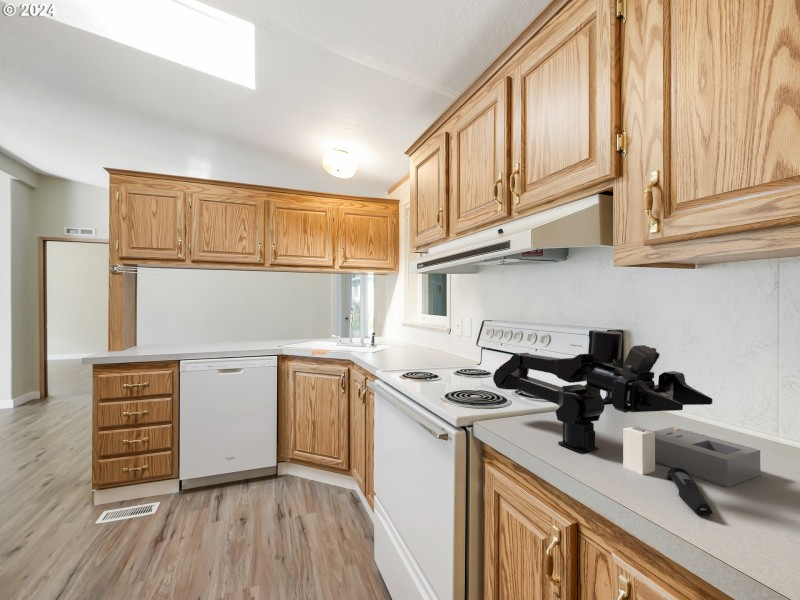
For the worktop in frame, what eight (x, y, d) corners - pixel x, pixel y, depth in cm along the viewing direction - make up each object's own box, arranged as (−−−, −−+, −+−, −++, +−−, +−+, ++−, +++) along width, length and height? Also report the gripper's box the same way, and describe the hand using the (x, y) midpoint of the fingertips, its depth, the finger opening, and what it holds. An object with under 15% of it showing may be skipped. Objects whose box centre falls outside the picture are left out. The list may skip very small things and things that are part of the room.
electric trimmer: (689, 520, 60) (689, 500, 60) (665, 478, 75) (665, 462, 75) (719, 525, 59) (719, 505, 59) (688, 482, 73) (688, 465, 73)
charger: (623, 467, 79) (623, 427, 79) (635, 463, 81) (635, 425, 81) (642, 474, 76) (642, 433, 76) (655, 471, 77) (654, 430, 77)
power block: (641, 456, 85) (641, 433, 85) (673, 448, 90) (673, 426, 90) (727, 487, 70) (727, 458, 70) (760, 475, 75) (760, 448, 76)
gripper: (588, 345, 78) (670, 363, 63) (646, 341, 85) (730, 356, 71) (584, 399, 78) (664, 428, 64) (642, 390, 86) (724, 414, 72)
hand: (697, 404), depth 68 cm, fingers open, 9 cm apart
